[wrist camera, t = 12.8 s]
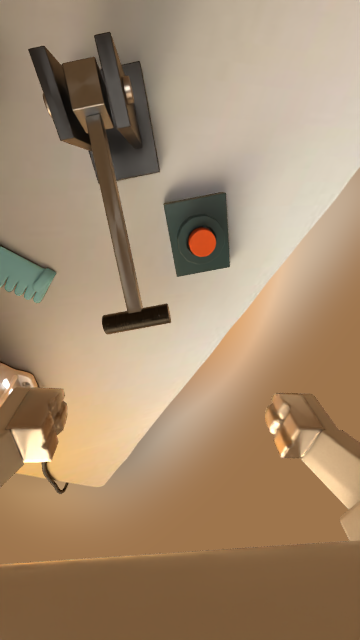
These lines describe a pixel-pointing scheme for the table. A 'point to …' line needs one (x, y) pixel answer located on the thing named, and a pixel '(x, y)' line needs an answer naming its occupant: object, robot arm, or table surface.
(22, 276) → the owl figurine
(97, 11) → the table surface
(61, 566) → the robot arm
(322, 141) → the table surface
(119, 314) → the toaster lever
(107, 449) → the table surface
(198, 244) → the stop button
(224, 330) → the table surface
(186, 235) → the button housing
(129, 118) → the lever bracket
